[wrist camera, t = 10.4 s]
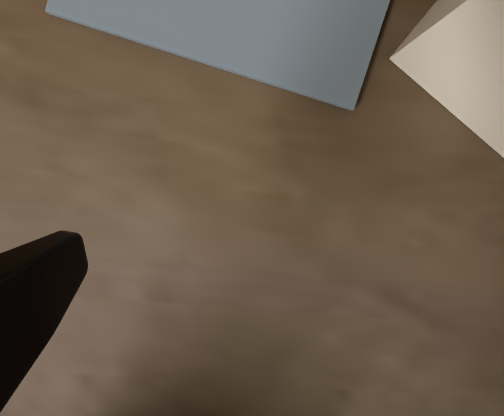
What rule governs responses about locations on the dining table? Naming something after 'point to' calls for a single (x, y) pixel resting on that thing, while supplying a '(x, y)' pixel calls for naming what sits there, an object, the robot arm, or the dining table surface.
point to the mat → (252, 37)
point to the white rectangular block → (461, 62)
